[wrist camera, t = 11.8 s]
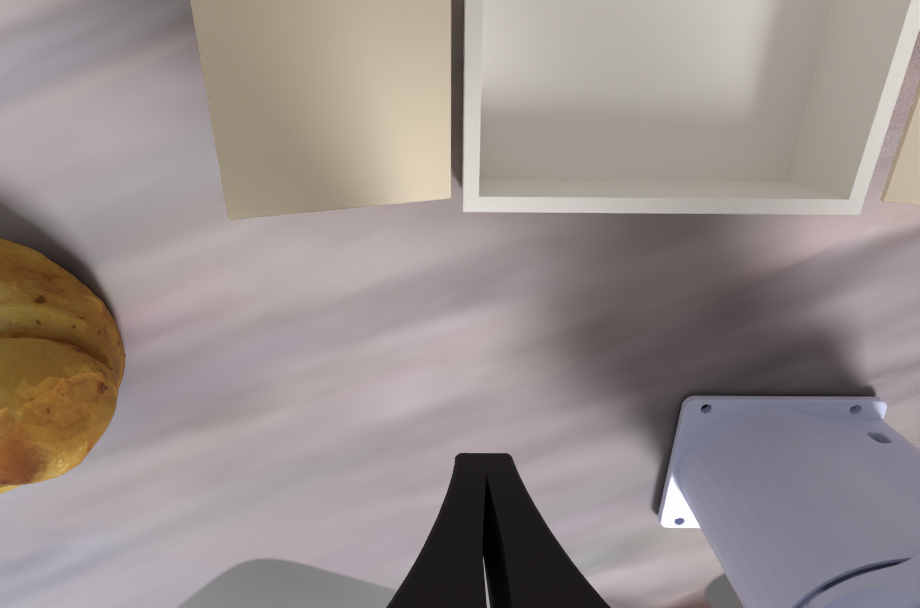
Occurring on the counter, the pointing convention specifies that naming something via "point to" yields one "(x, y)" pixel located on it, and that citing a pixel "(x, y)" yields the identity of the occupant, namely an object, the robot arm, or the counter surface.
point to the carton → (679, 104)
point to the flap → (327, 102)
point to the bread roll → (51, 368)
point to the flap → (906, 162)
